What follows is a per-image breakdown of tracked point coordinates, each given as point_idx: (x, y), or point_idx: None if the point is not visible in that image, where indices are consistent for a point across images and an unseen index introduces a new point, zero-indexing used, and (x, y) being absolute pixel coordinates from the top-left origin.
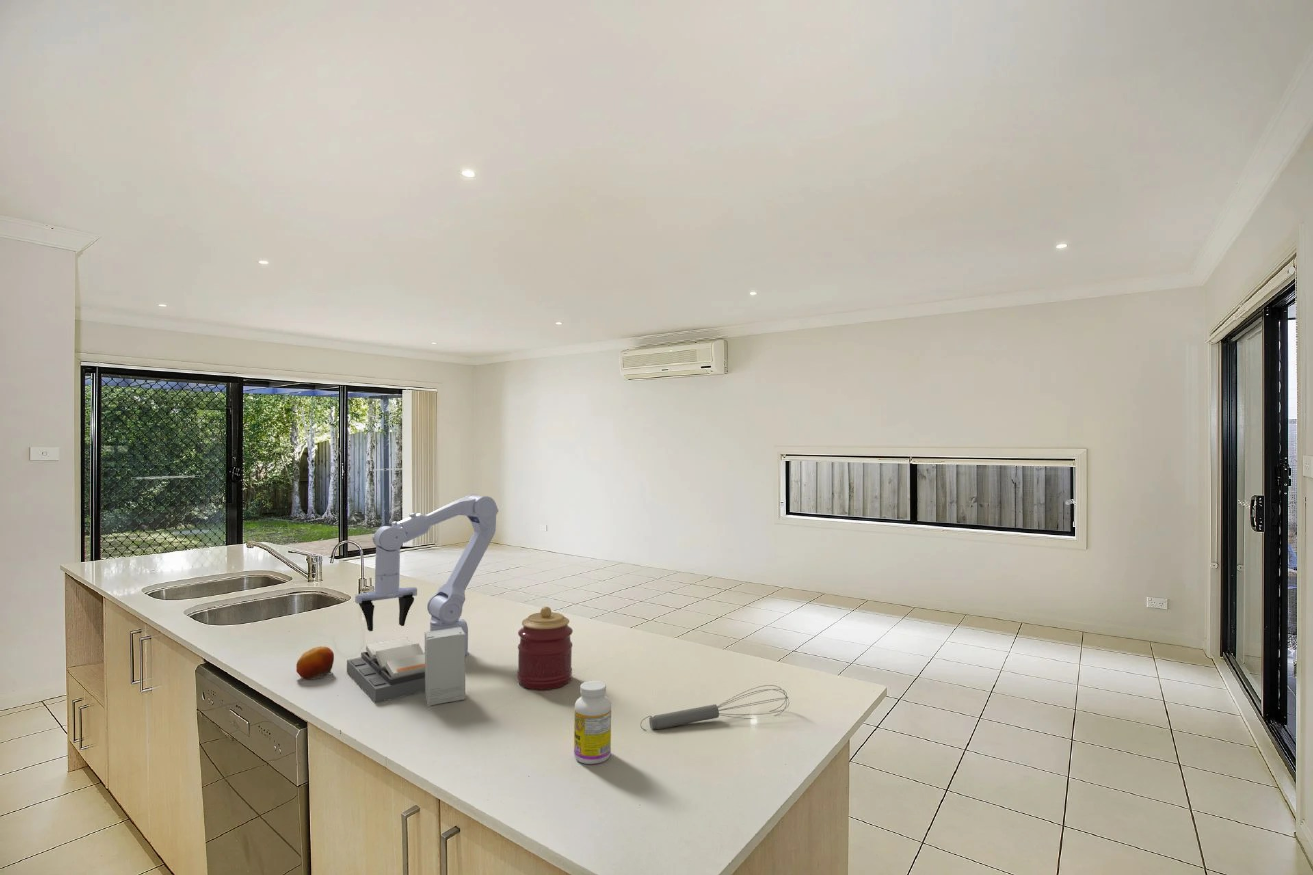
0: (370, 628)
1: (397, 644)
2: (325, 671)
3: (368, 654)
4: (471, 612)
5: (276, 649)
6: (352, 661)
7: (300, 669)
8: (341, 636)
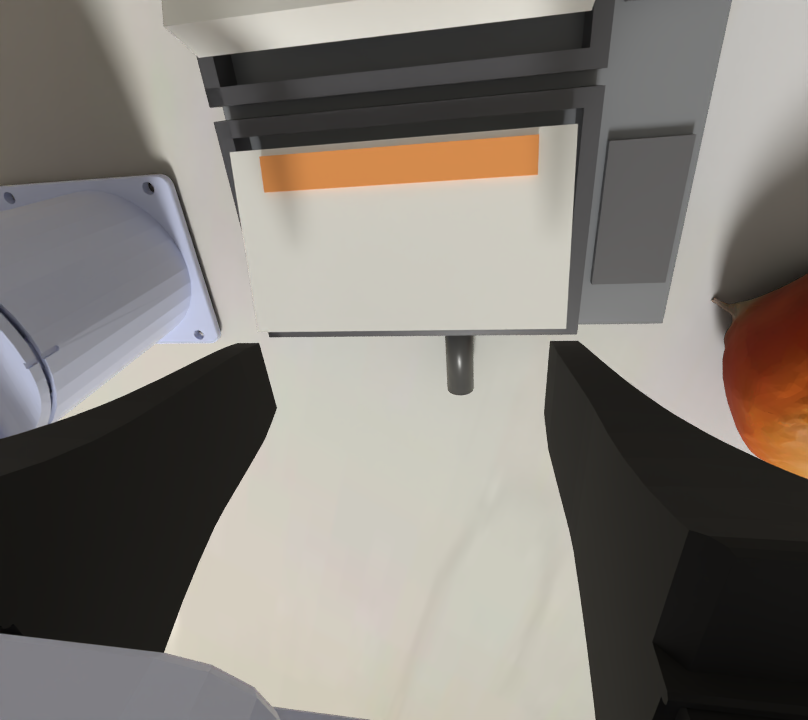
0: (585, 347)
1: (344, 245)
2: (804, 275)
3: None
4: None
5: None
6: (665, 246)
7: None
8: (484, 676)
